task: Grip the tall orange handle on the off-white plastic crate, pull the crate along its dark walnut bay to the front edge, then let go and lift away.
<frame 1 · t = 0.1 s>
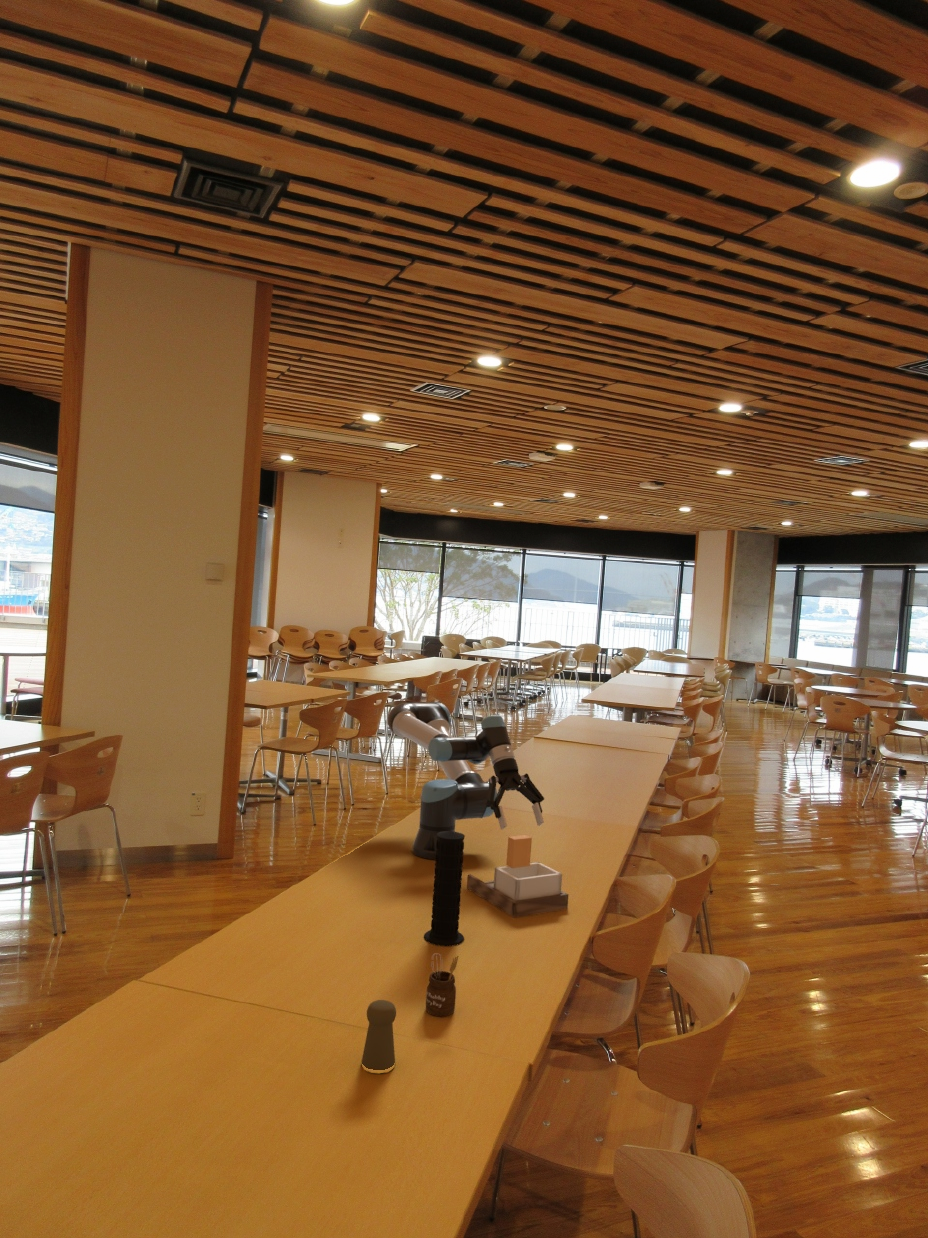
hand: (522, 826, 262), 15 cm above the table, tool tilted 35°, fingers open, 13 cm apart
grey pepper shaker: (378, 1066, 152), on the table
handle grip: (444, 939, 211), on the table
utensil holder: (440, 1011, 174), on the table
crate: (527, 870, 238), point 9 cm above the table, slide at 0.0 cm
bay: (515, 898, 242), on the table
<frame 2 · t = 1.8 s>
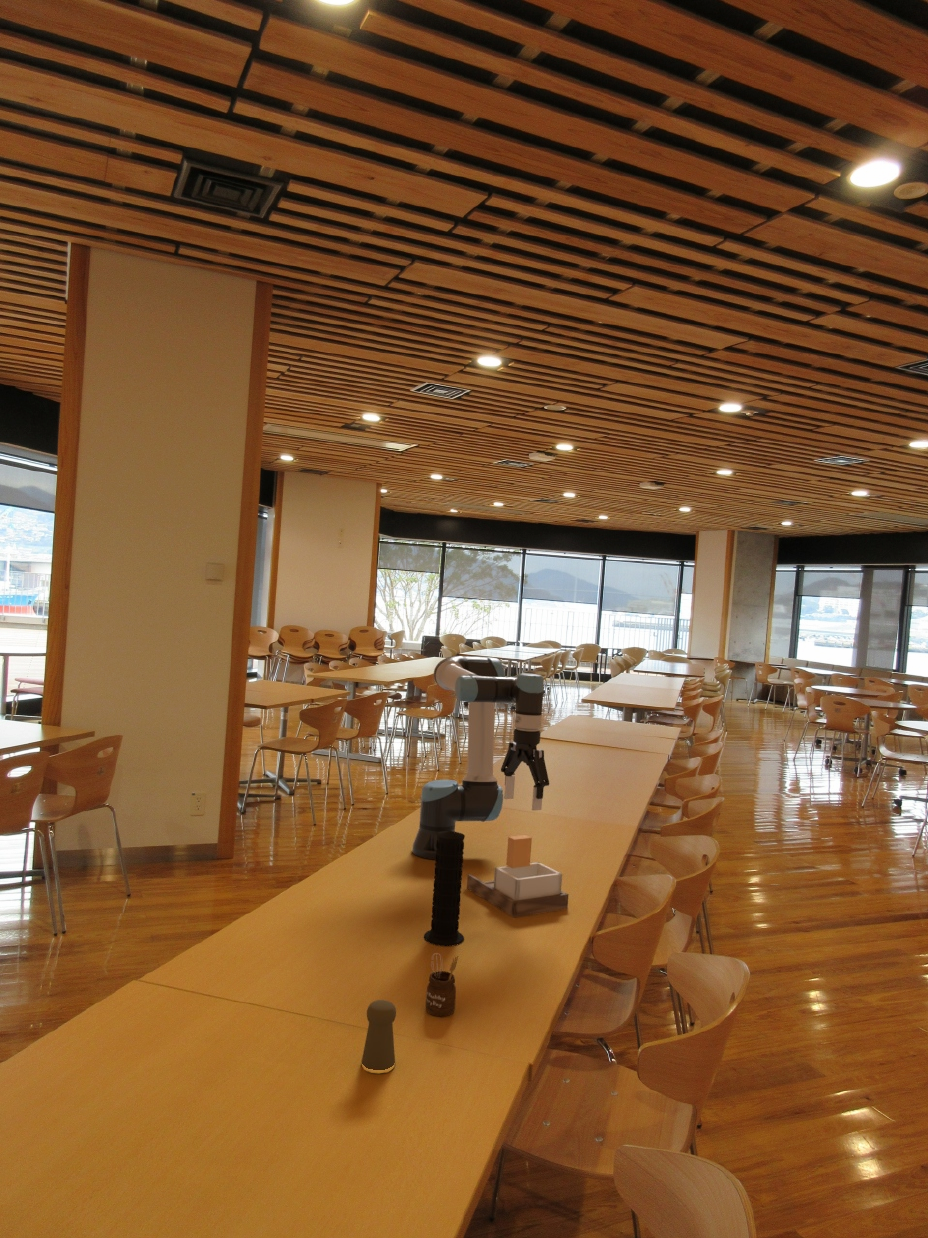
hand: (522, 804, 242), 27 cm above the table, tool pointing down, fingers open, 13 cm apart
nothing on the table moved.
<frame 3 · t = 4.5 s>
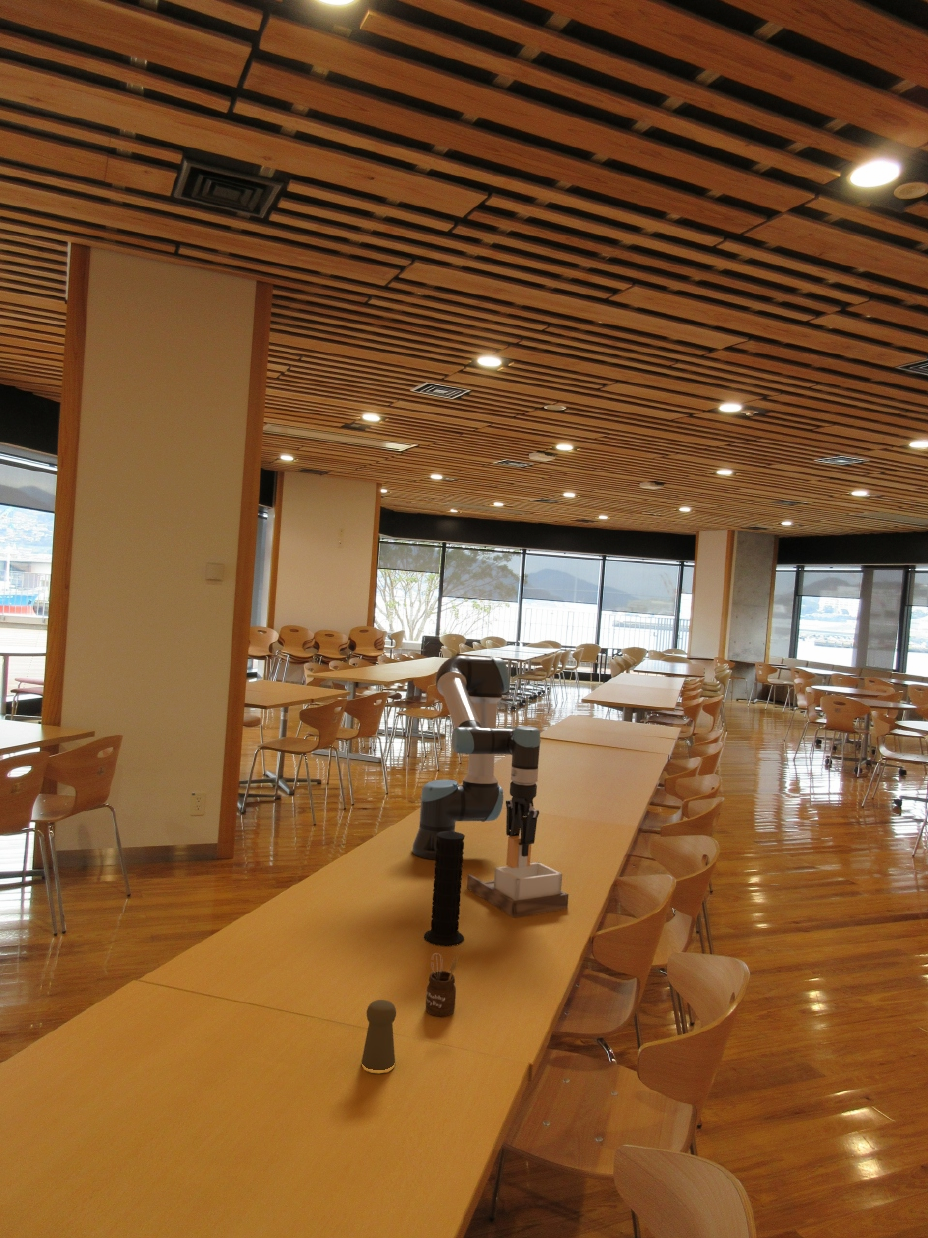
hand: (518, 864, 242), 10 cm above the table, tool pointing down, fingers closed on crate, 3 cm apart
crate: (527, 870, 238), point 9 cm above the table, slide at 0.0 cm, touching gripper
everything else where it was.
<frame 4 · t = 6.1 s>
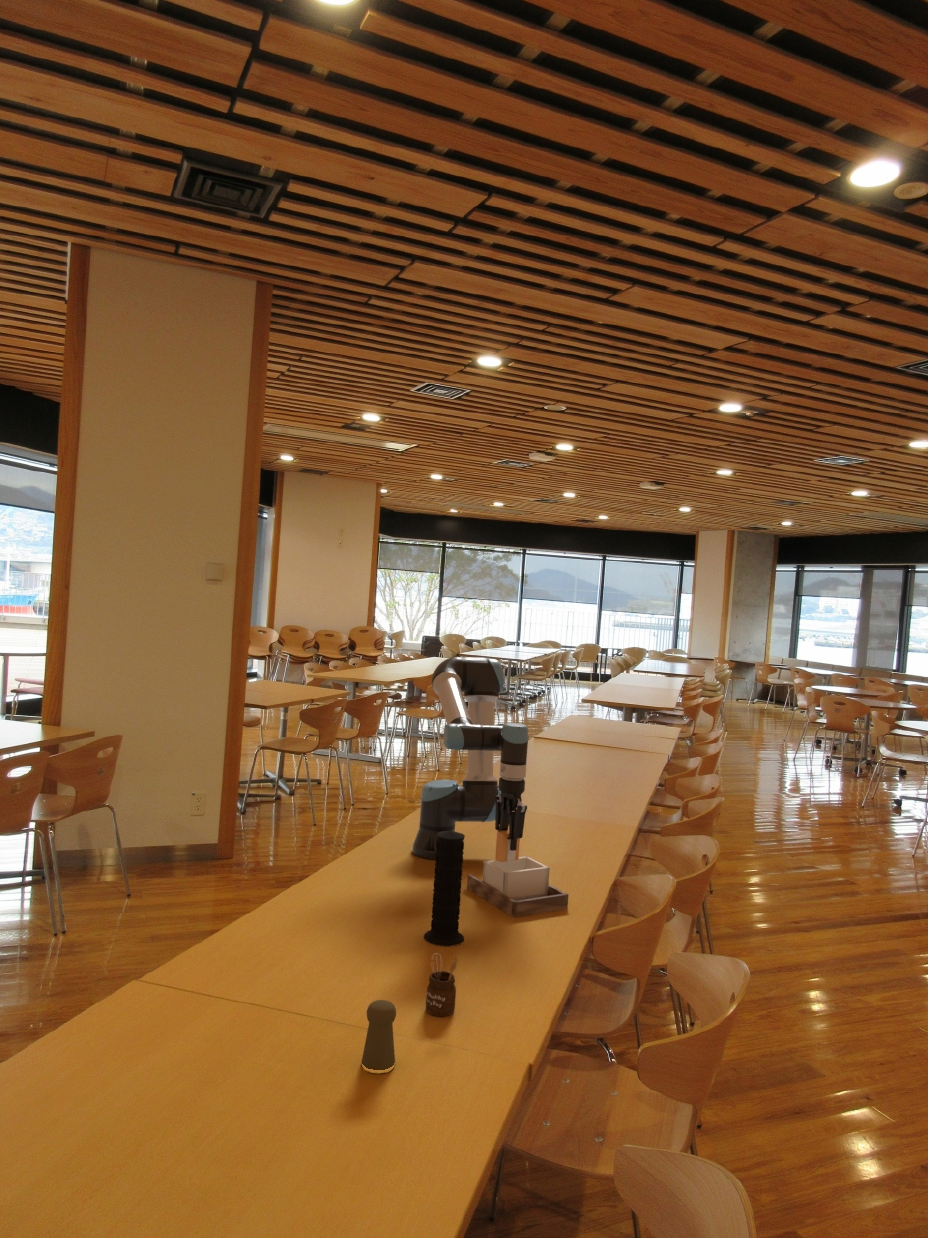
hand: (506, 859, 247), 10 cm above the table, tool pointing down, fingers closed on crate, 3 cm apart
crate: (515, 864, 243), point 9 cm above the table, slide at 5.8 cm, touching gripper
everything else where it was.
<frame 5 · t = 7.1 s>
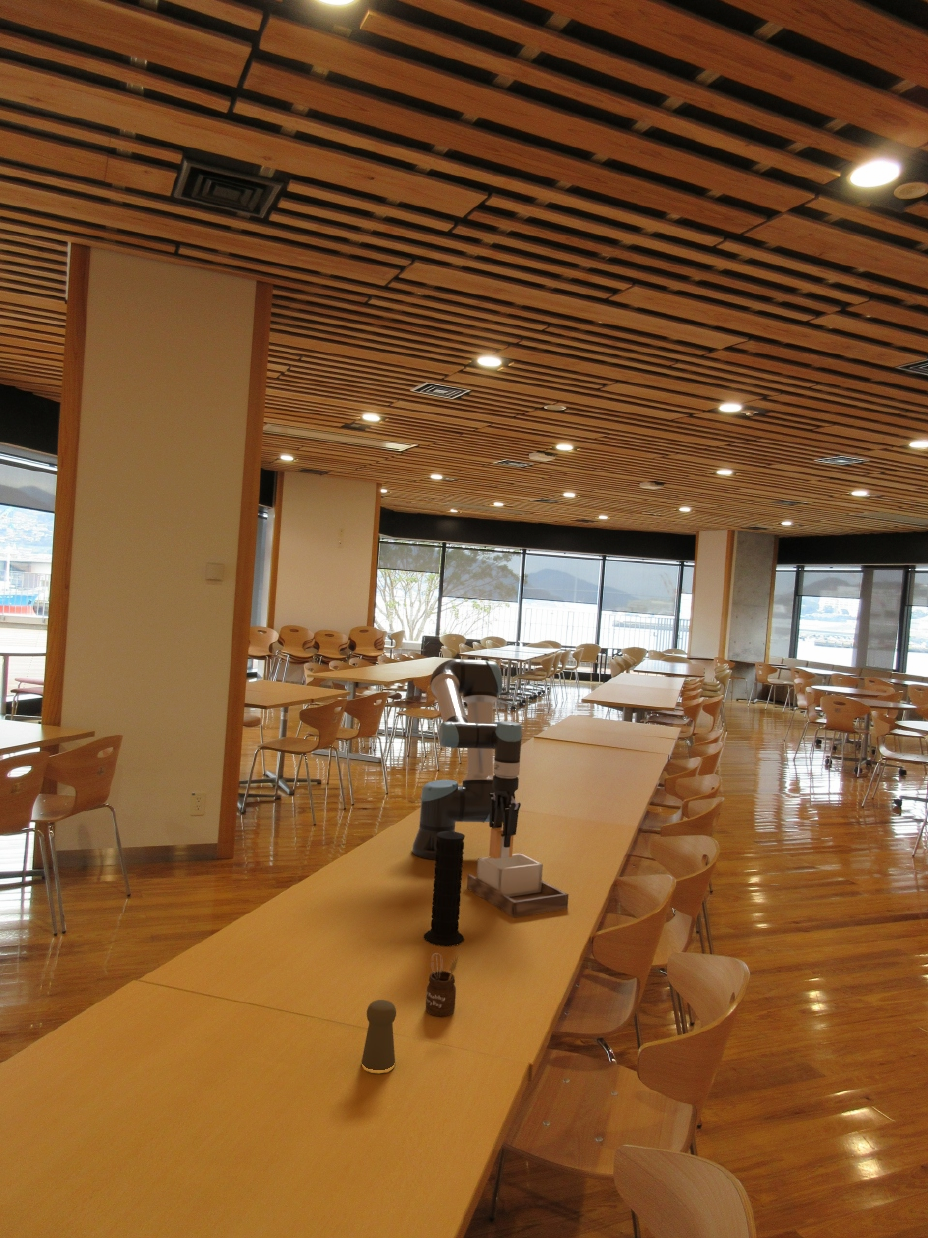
hand: (500, 855, 250), 10 cm above the table, tool pointing down, fingers closed on crate, 3 cm apart
crate: (509, 860, 246), point 9 cm above the table, slide at 9.0 cm, touching gripper
everything else where it was.
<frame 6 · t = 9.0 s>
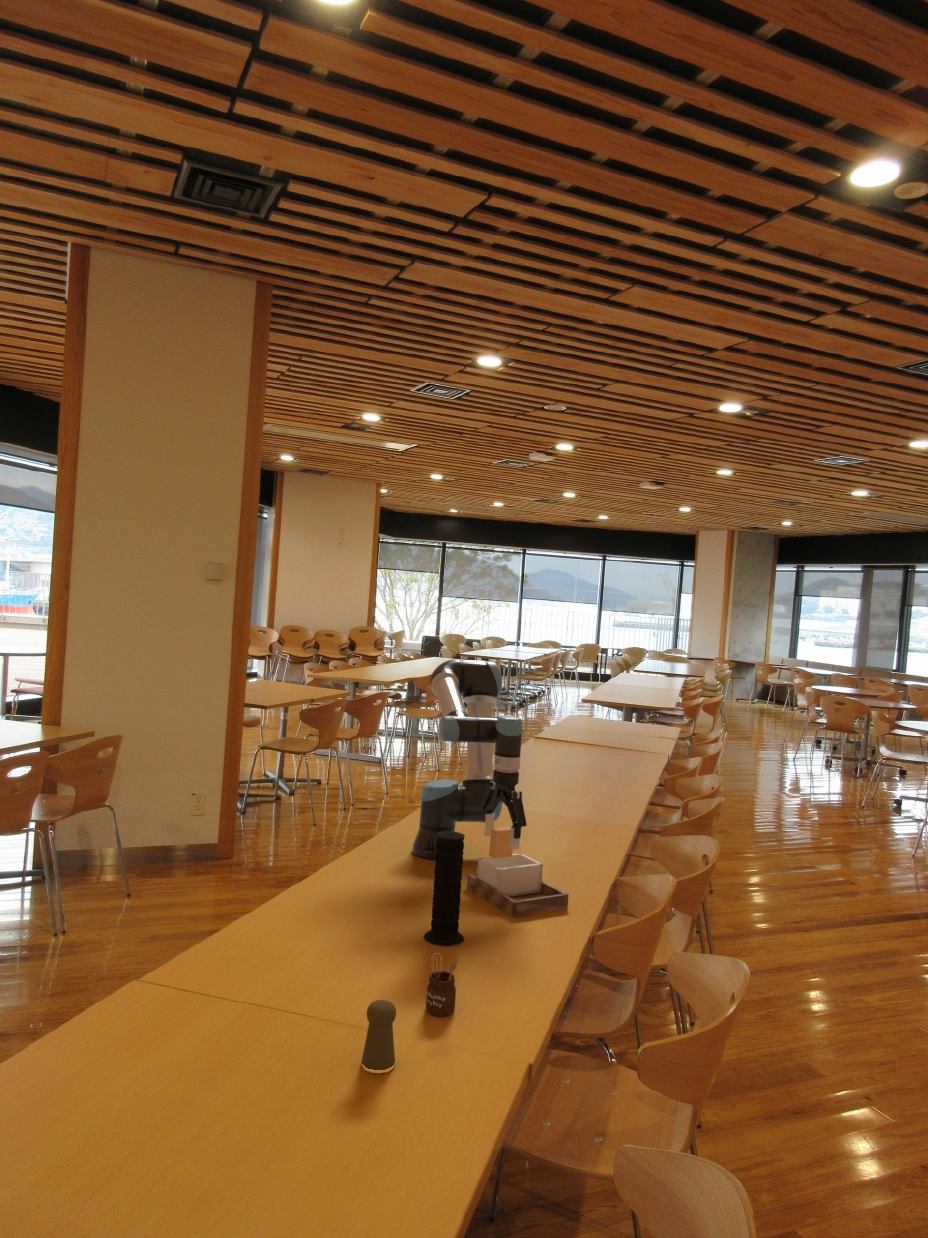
hand: (501, 842, 250), 13 cm above the table, tool pointing down, fingers open, 13 cm apart
crate: (509, 860, 246), point 9 cm above the table, slide at 9.0 cm
everything else where it was.
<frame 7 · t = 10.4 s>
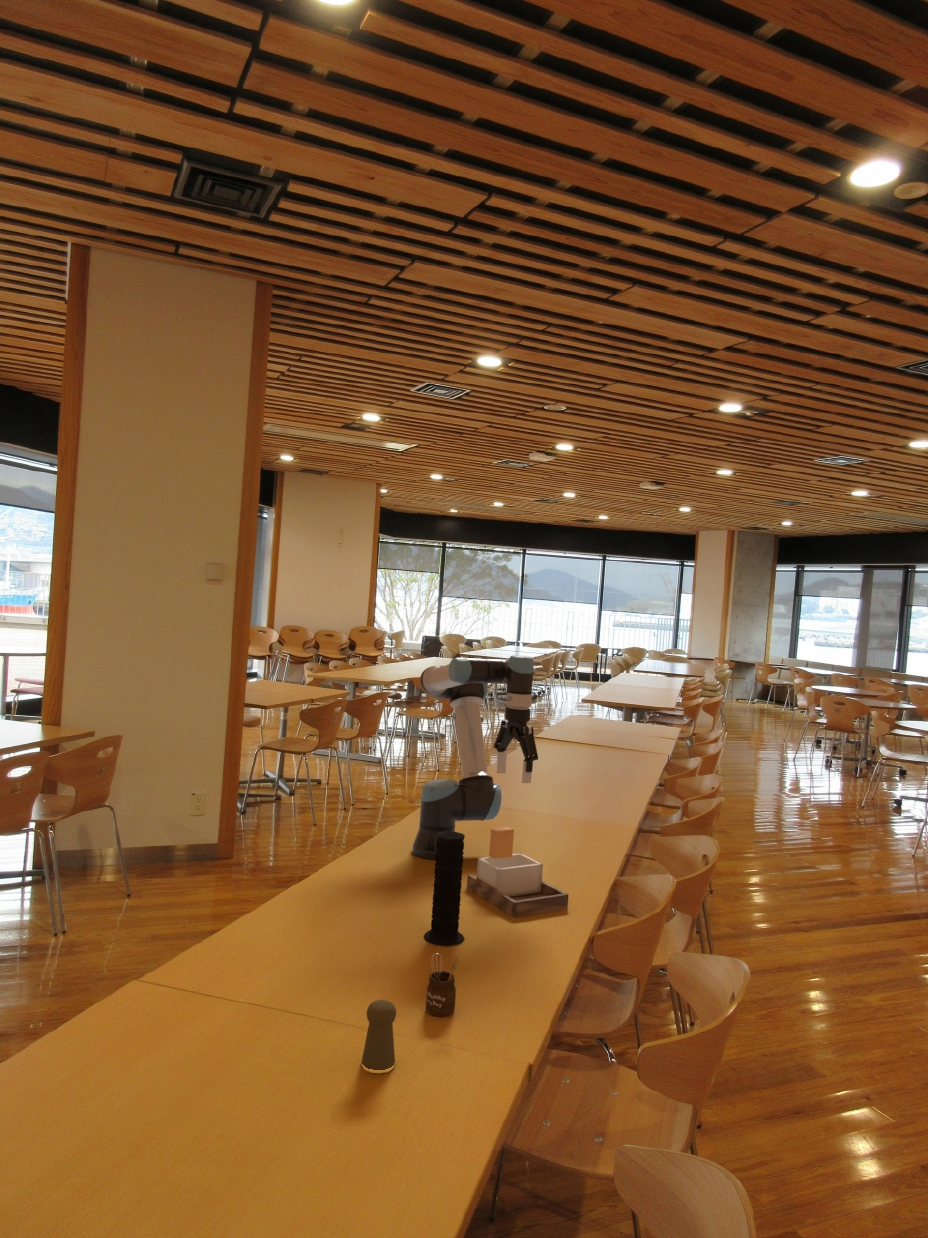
hand: (513, 778, 258), 31 cm above the table, tool pointing down, fingers open, 13 cm apart
nothing on the table moved.
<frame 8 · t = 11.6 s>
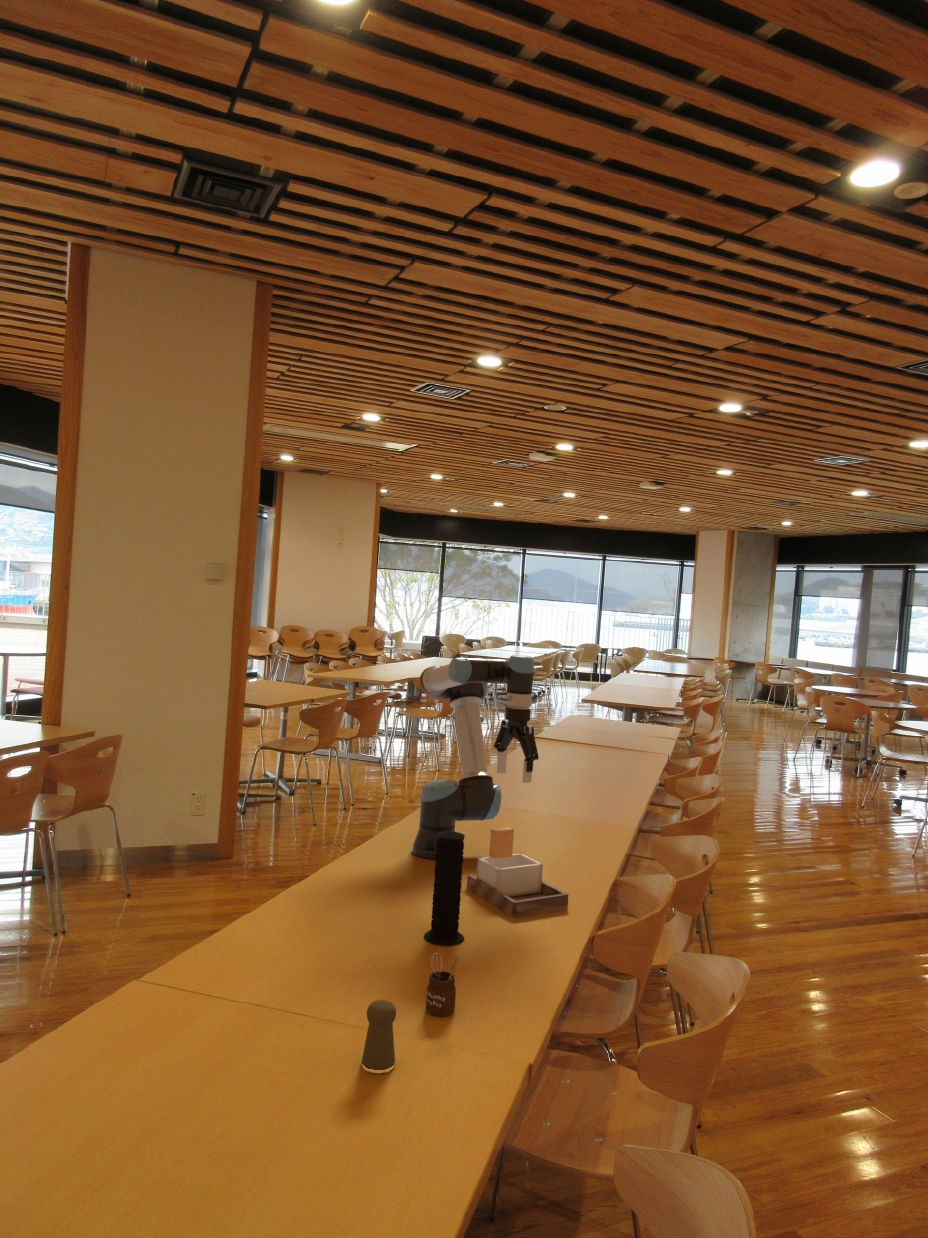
hand: (513, 777, 258), 31 cm above the table, tool pointing down, fingers open, 13 cm apart
nothing on the table moved.
at the end: crate slide at 9.0 cm; the gripper is holding nothing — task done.
